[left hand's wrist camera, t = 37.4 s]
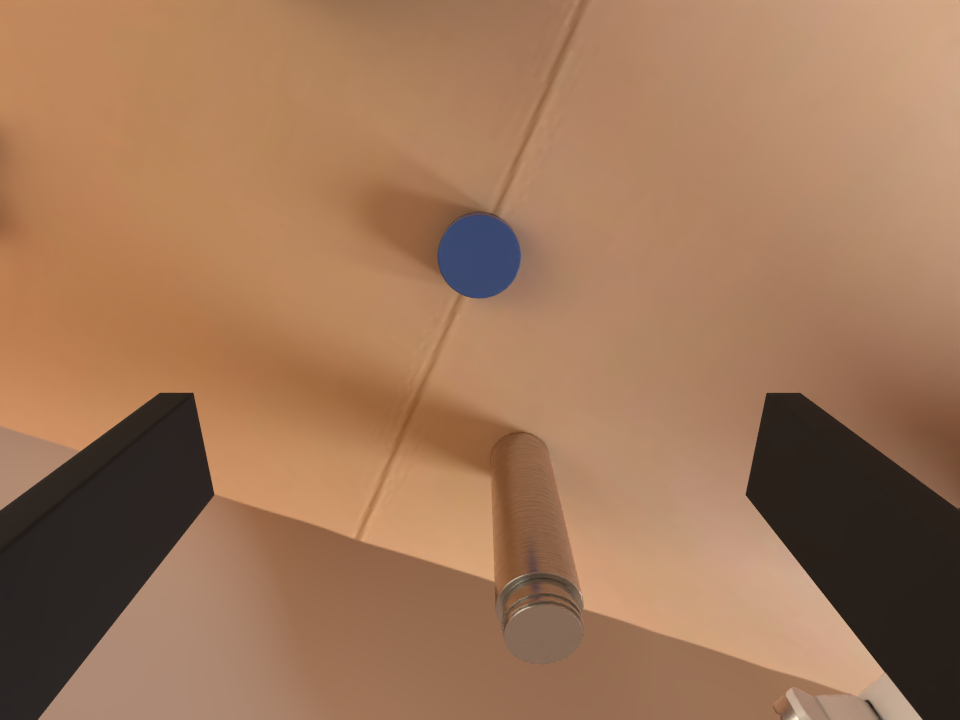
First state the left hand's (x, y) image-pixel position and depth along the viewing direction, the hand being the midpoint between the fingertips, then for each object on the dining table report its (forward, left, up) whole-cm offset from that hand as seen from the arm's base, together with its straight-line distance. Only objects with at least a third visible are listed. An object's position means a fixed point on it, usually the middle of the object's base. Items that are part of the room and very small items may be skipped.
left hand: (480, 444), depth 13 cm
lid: (0, 0, -27) cm, 27 cm away
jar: (+14, -12, -29) cm, 34 cm away
